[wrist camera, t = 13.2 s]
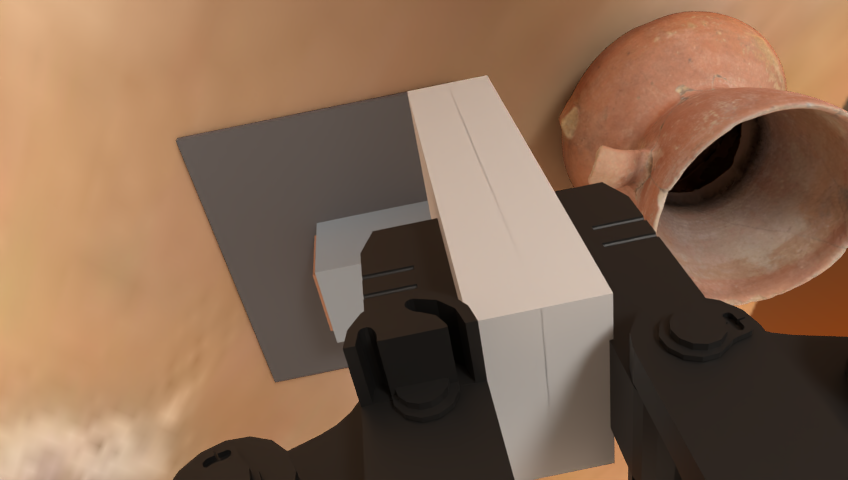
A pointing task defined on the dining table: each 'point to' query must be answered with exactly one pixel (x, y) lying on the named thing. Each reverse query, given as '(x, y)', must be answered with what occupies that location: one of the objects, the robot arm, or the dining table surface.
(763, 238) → the ceramic jug
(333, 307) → the block
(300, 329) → the mat
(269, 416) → the dining table surface
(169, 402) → the dining table surface
